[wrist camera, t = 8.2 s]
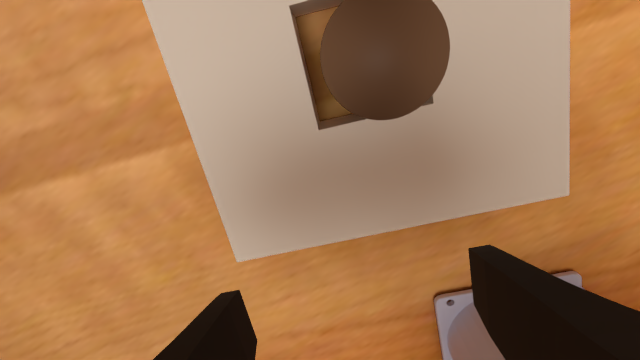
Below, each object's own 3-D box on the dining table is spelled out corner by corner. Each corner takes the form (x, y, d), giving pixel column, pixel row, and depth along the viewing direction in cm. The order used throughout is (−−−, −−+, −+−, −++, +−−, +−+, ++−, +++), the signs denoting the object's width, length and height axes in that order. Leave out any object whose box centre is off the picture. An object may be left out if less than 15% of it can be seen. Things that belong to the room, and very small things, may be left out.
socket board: (521, -207, 14) (571, -279, 11) (533, 177, 19) (569, 195, 17) (138, -89, 16) (96, -125, 13) (249, 236, 21) (236, 262, 18)
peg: (395, 19, 17) (452, -26, 9) (396, 97, 18) (448, 114, 11) (319, 27, 17) (314, -11, 9) (326, 104, 18) (326, 125, 11)
